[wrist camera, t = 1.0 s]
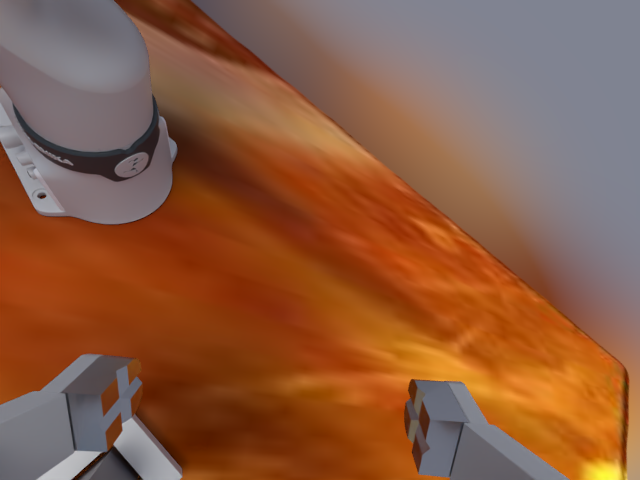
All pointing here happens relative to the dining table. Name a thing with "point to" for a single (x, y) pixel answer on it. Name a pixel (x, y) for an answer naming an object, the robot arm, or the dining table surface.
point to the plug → (110, 468)
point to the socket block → (126, 456)
